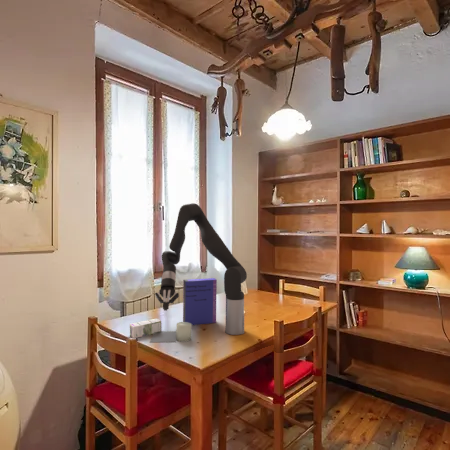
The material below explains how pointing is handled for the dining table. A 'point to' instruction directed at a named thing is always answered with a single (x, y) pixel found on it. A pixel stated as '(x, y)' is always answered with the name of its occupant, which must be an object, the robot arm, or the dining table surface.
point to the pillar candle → (183, 331)
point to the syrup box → (145, 328)
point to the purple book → (199, 301)
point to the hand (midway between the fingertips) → (165, 309)
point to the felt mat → (164, 336)
